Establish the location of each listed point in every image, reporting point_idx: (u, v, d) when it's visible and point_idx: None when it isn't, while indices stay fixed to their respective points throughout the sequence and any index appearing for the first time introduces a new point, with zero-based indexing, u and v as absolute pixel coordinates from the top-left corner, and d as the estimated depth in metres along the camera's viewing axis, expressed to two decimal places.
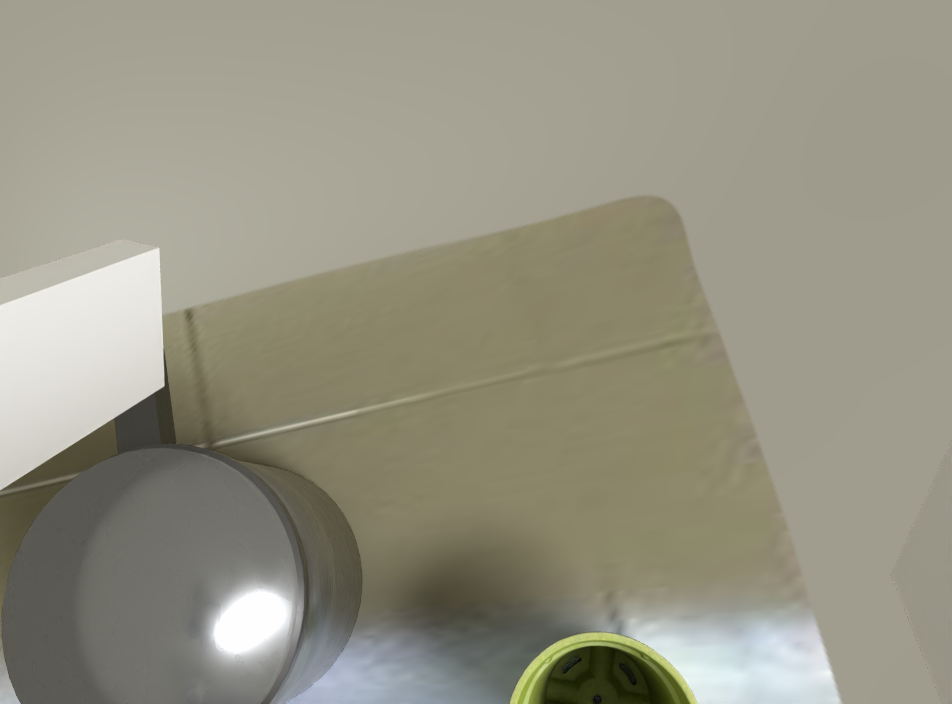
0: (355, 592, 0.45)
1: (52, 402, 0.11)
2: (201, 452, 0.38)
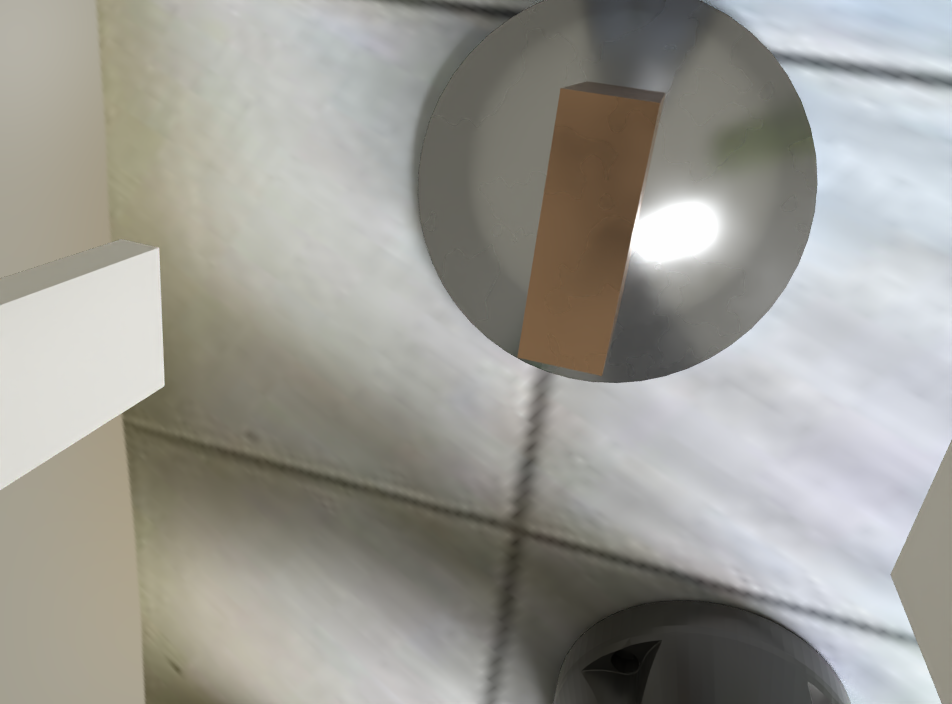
0: None
1: (52, 402, 0.11)
2: None
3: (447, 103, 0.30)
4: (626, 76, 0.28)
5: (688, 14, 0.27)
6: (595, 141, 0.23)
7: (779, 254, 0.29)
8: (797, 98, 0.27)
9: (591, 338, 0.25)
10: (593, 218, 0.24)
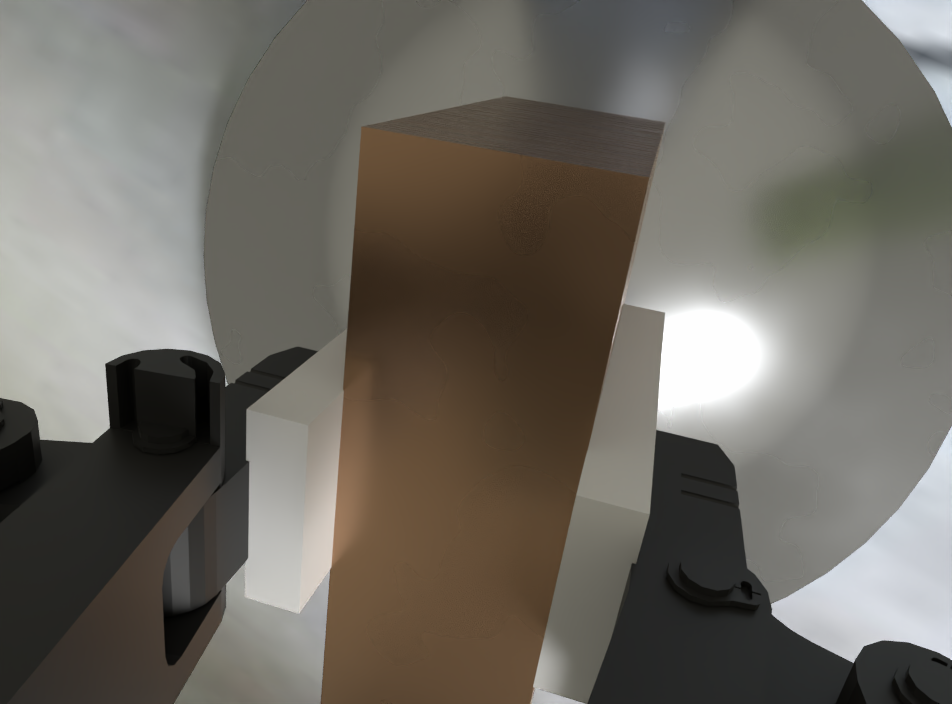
0: None
1: None
2: None
3: (242, 134, 0.16)
4: (584, 87, 0.14)
5: None
6: (466, 276, 0.08)
7: (890, 447, 0.15)
8: None
9: None
10: (471, 469, 0.09)
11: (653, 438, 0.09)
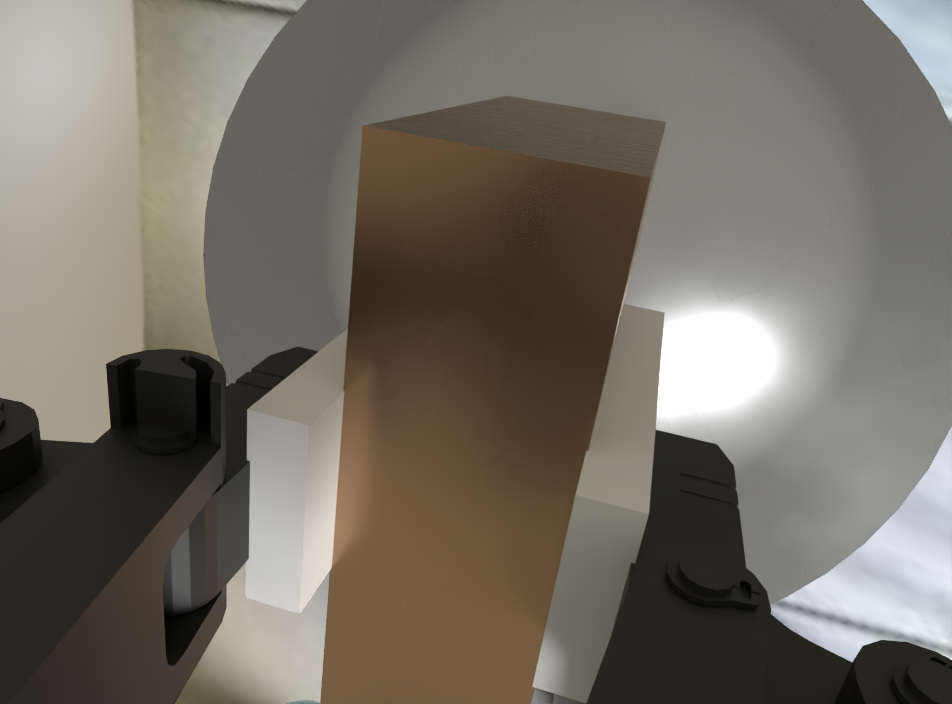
0: None
1: None
2: None
3: (242, 133, 0.16)
4: (585, 87, 0.14)
5: None
6: (467, 276, 0.08)
7: (890, 448, 0.15)
8: None
9: None
10: (471, 468, 0.09)
11: (652, 438, 0.09)
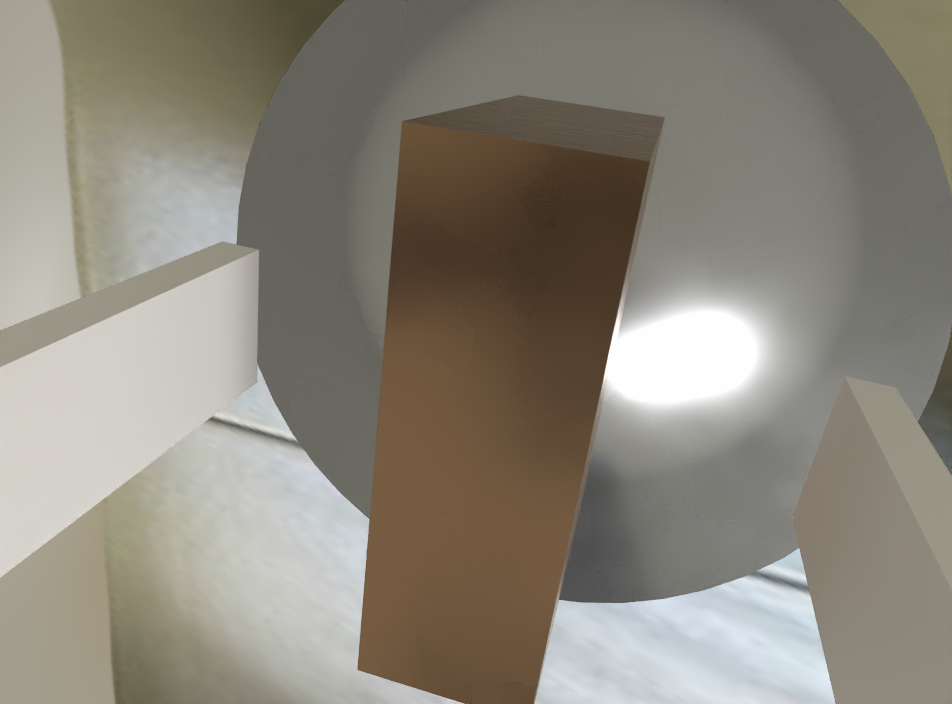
0: None
1: (172, 396, 0.12)
2: None
3: (274, 133, 0.17)
4: (590, 86, 0.15)
5: None
6: (492, 250, 0.09)
7: None
8: (926, 130, 0.14)
9: (504, 653, 0.12)
10: (496, 421, 0.10)
11: None
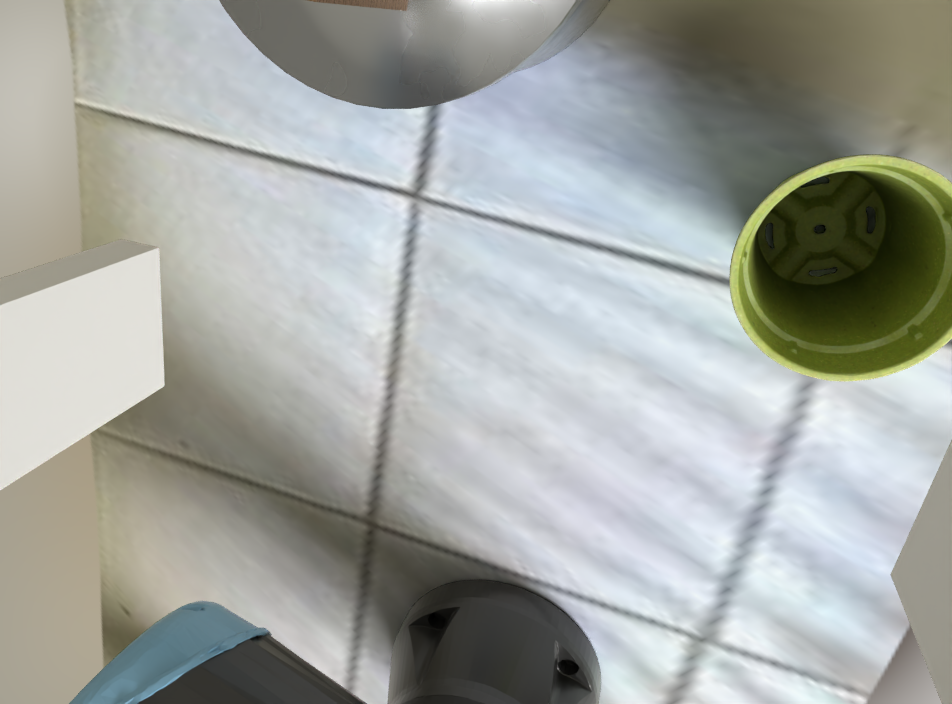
0: None
1: (52, 402, 0.11)
2: None
3: None
4: None
5: None
6: None
7: None
8: None
9: None
10: None
11: None
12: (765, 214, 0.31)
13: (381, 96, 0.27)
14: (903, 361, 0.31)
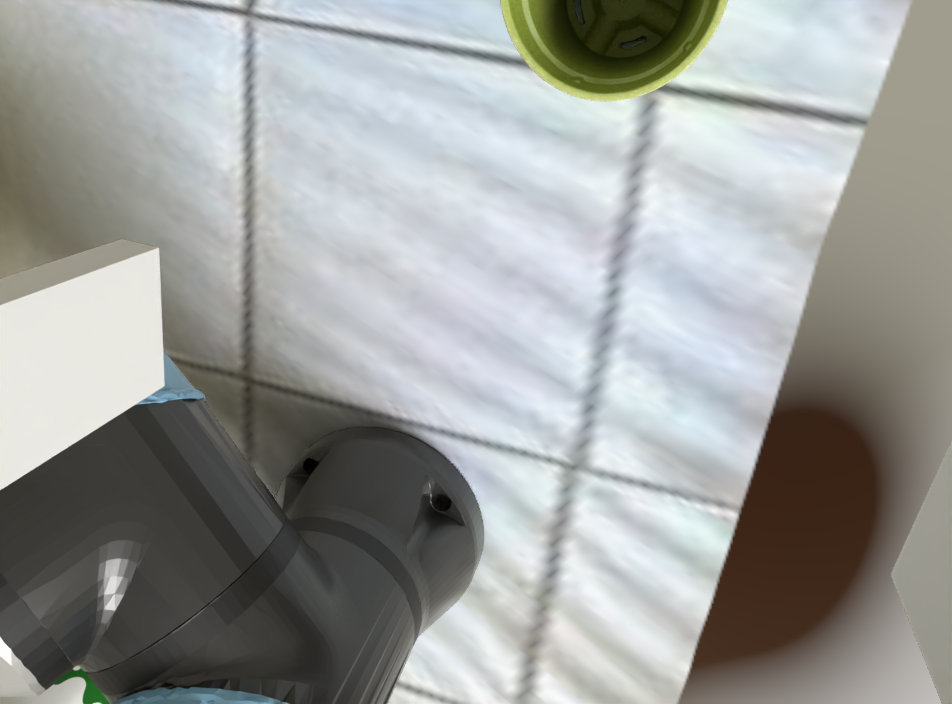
0: None
1: (52, 402, 0.11)
2: None
3: None
4: None
5: None
6: None
7: None
8: None
9: None
10: None
11: None
12: None
13: None
14: (673, 69, 0.31)
